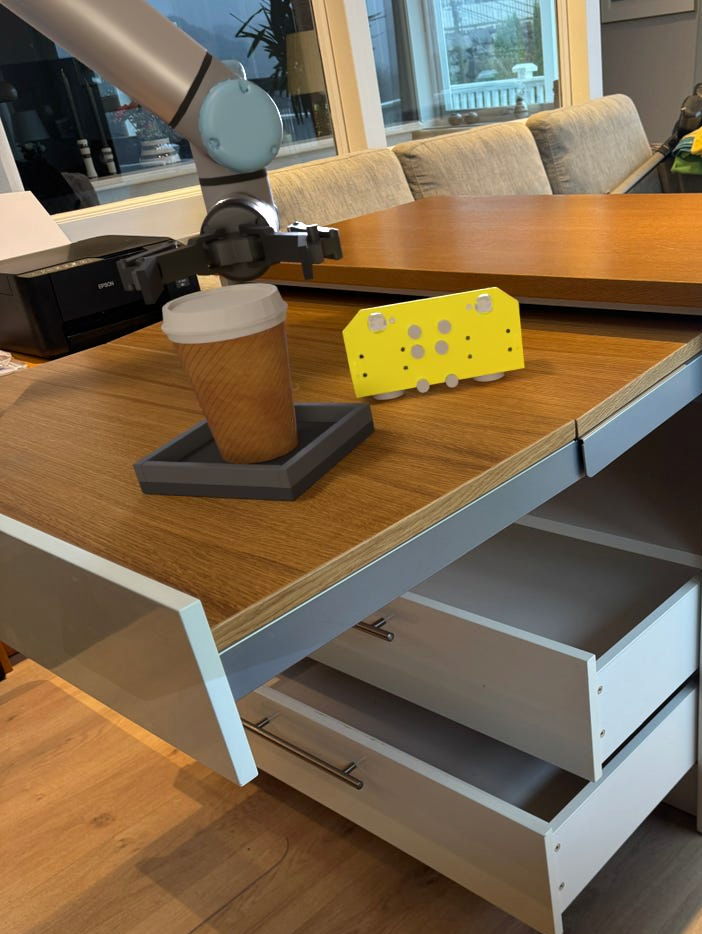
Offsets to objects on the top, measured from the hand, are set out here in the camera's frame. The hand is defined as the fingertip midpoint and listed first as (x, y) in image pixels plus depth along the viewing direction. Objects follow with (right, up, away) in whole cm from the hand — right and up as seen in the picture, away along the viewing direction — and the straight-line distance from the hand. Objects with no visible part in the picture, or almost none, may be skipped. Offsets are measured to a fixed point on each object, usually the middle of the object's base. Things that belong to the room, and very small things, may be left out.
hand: (225, 275), depth 76 cm
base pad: (+4, -16, -2) cm, 17 cm away
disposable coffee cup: (+4, -15, -2) cm, 16 cm away
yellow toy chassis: (+18, -7, +10) cm, 21 cm away
